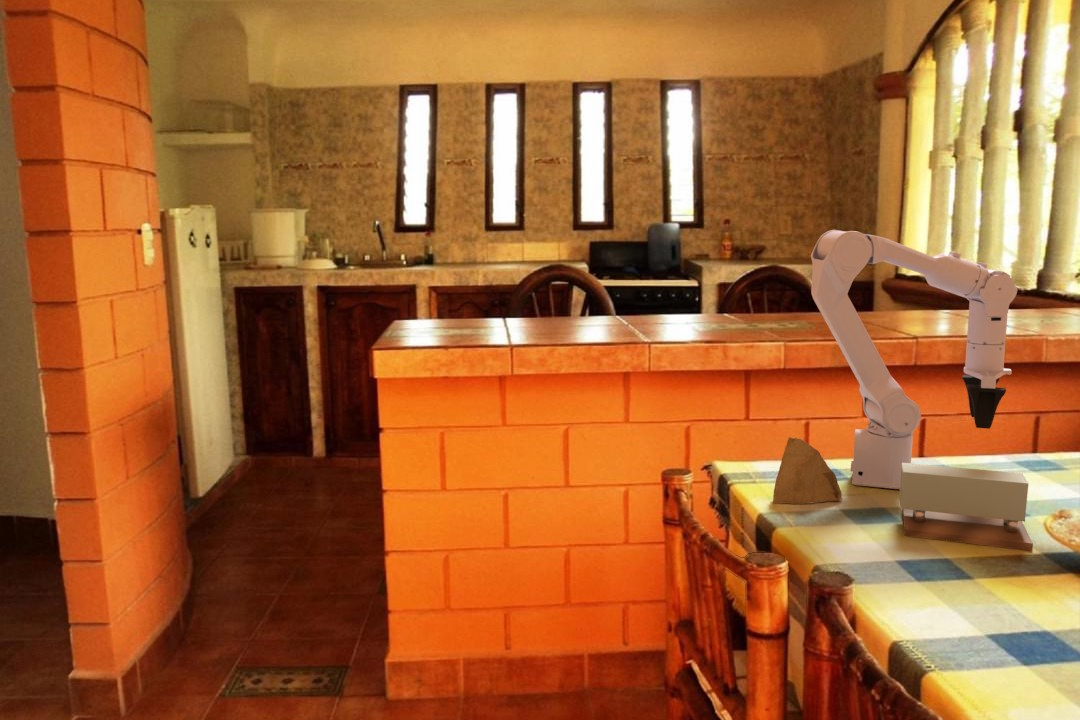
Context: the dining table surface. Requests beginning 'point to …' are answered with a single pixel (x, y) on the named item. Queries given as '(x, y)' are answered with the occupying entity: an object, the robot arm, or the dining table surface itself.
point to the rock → (804, 476)
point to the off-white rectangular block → (963, 491)
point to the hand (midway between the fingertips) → (980, 422)
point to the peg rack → (966, 529)
